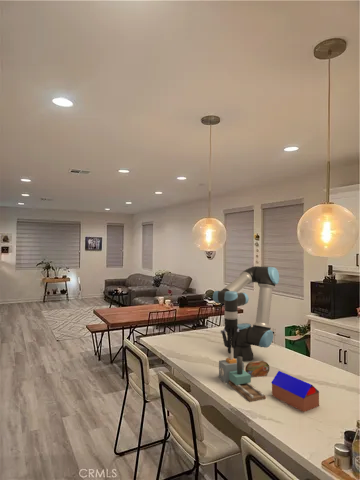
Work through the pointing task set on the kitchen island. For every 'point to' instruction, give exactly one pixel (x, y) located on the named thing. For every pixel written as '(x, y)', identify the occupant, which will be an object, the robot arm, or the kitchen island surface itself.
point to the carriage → (239, 374)
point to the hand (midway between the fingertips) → (231, 358)
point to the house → (295, 392)
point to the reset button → (231, 360)
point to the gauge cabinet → (226, 370)
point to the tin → (257, 368)
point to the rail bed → (248, 391)
